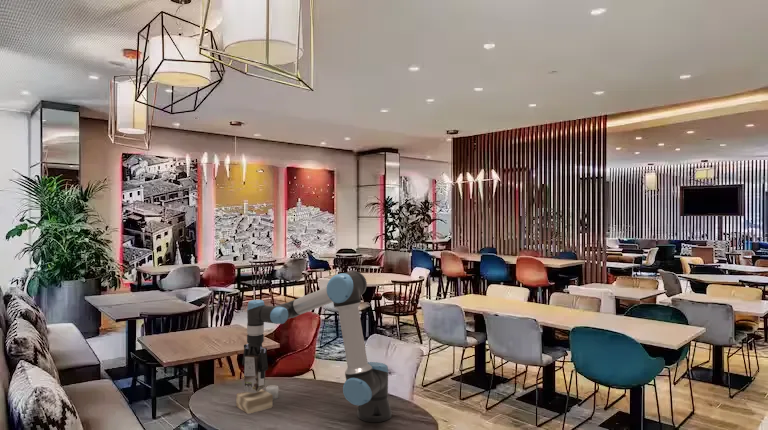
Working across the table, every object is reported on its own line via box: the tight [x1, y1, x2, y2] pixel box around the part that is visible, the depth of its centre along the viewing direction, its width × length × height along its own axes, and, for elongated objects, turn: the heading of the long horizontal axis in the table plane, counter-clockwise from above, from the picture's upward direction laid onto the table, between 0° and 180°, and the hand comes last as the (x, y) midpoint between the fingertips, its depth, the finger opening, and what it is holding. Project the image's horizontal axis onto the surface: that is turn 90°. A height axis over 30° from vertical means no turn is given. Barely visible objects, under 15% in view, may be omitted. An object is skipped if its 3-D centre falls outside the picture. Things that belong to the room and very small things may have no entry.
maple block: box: [235, 388, 273, 415], centre depth 224 cm, size 12×12×6 cm
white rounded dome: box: [265, 384, 279, 400], centre depth 236 cm, size 6×6×5 cm
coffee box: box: [243, 354, 266, 393], centre depth 224 cm, size 9×6×16 cm
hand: (254, 383), depth 224 cm, fingers closed on coffee box, 8 cm apart
